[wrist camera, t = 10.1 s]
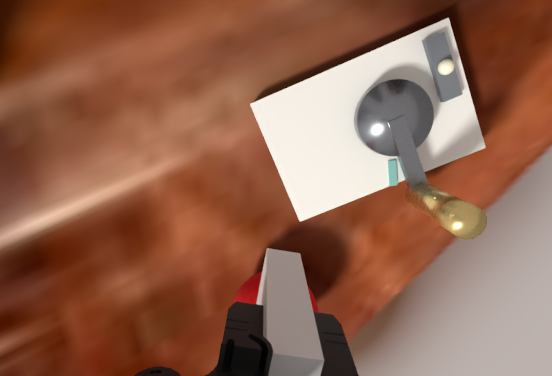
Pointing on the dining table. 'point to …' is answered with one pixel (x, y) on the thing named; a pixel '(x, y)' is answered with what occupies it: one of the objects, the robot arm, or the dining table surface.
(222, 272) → the dining table surface
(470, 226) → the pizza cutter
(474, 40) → the dining table surface
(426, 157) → the stand
